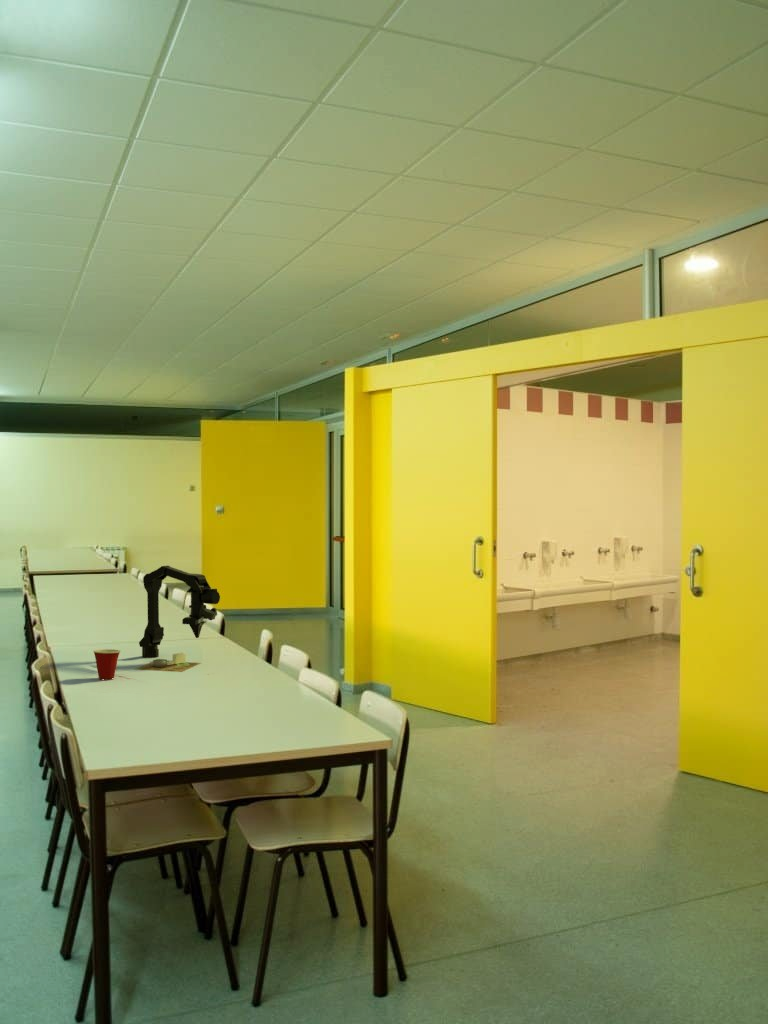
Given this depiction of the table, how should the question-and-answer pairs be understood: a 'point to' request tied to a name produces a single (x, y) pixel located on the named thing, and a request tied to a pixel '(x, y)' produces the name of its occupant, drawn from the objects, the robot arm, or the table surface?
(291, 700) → the table surface
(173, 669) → the brown flat wooden board
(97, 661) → the plastic cup
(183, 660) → the peg lever
